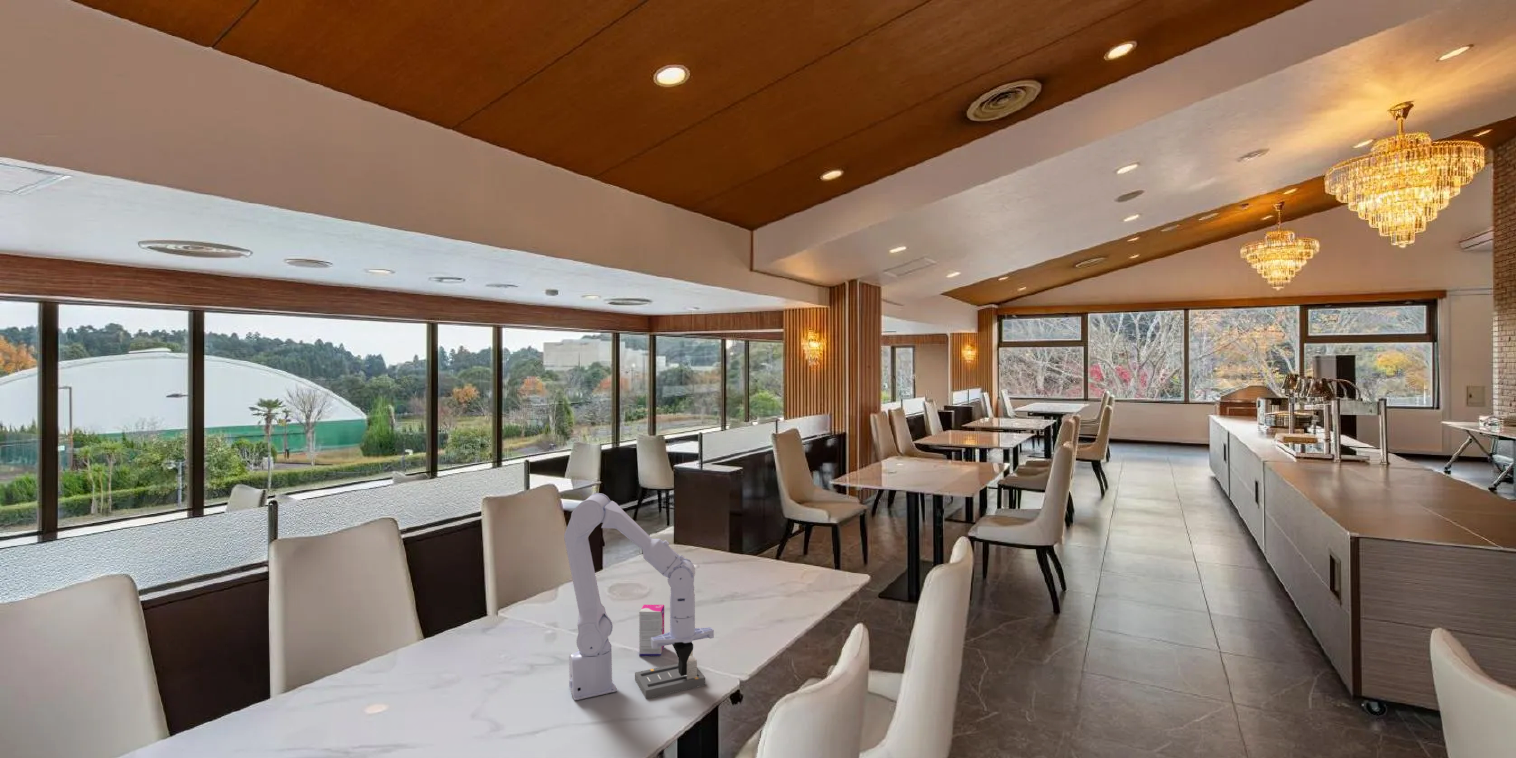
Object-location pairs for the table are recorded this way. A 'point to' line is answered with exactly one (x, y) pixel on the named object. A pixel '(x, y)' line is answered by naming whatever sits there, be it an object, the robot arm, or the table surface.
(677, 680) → the console
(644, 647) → the supplement box
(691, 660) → the fader near
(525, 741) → the table surface
